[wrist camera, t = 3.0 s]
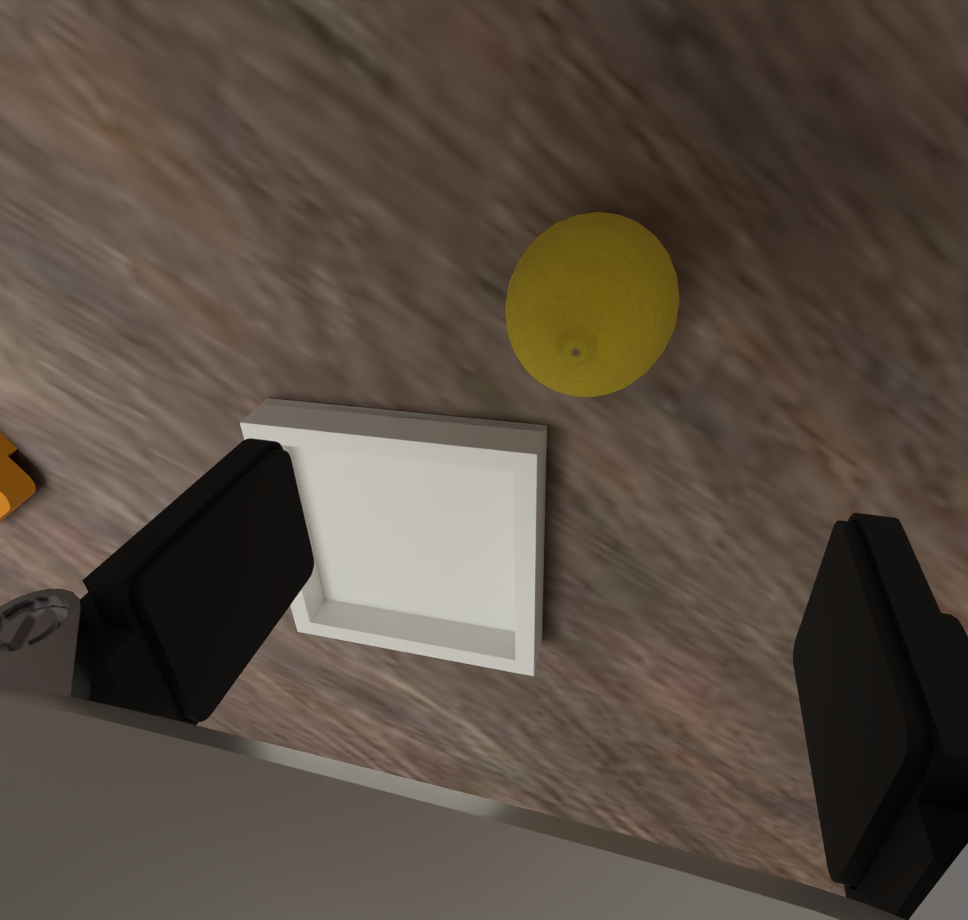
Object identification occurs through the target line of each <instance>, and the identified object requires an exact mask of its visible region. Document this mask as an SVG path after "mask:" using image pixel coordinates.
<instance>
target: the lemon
mask: <svg viewBox="0 0 968 920" xmlns="http://www.w3.org/2000/svg"><path fill="white" fill-rule="evenodd" d="M679 302H680V301H679V289H678V278H677V274H676V272H675V269H674V266H673V264H672V261H671V258H670V256H669V253H668V252H667V251H666V249H665V248H664V247H663V245H662V244H661V243H660V241H659V240H658V239H657V237H656V236H655V235H654V234H652V233H651V232H650V231H649V230H647V229H646V228H645V227H643V226H642V225H641V224H640V223H638V222H636V221H634V220H631V219H629V218H626V217H624V216H622V215H619V214H612V213H604V212H593V213H586V214H579V215H574V216H572V217H569V218H567V219H565V220H562V221H560V222H557V223H555V224H554V225H552V226H551V227H550V228H548V229H547V230H546V231H544V232H543V233H542V234H540V235H539V236H538V237H536V238H535V239H534V241H533V242H532V243H531V244H530V246H529V247H528V248H527V250H526V251H525V252H524V253H523V255H522V256H521V257H520V259H519V261H518V263H517V265H516V268H515V270H514V272H513V274H512V277H511V279H510V282H509V286H508V292H507V299H506V305H505V314H506V324H507V333H508V336H509V339H510V342H511V345H512V347H513V350H514V353H515V354H516V356H517V357H518V359H519V360H520V362H521V363H522V365H523V366H524V368H525V369H526V371H528V372H529V373H530V374H531V375H532V376H533V377H534V378H535V379H536V380H537V381H539V382H540V383H542V384H543V385H545V386H547V387H549V388H551V389H552V390H554V391H557V392H560V393H564V394H567V395H570V396H580V397H594V396H600V395H606V394H610V393H613V392H615V391H617V390H620V389H622V388H625V387H627V386H629V385H630V384H632V383H633V382H634V381H636V380H637V379H639V378H640V377H641V376H643V375H644V374H645V373H646V372H647V371H648V370H649V369H650V368H651V367H652V365H653V364H654V363H655V362H656V361H657V359H658V358H659V357H660V356H661V355H662V353H663V352H664V350H665V348H666V346H667V344H668V342H669V340H670V337H671V335H672V333H673V331H674V329H675V325H676V320H677V314H678V308H679Z"/></svg>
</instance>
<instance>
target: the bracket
mask: <svg viewBox="0 0 968 920" xmlns="http://www.w3.org/2000/svg"><path fill="white" fill-rule="evenodd" d="M17 449H18V448H17V447H16V446H14V445H13V444H12V443H11V442H10V441H9V440H8V439H7V438H6V437H5V436H4V435H3V434H2V433H1V432H0V522H1V521H3V520H4V519H5V518H6V517H7V516H8V515H10V514H11V513H12V512H13V511H14V510H15V509H17V508H18V507H19V506H20V505H21V504H22V503H23V502H25V501H26V500H27V499H28V498H29V497H30V496H32V495H33V494H34V493H35V491H36V486H35V484H34V482H33V480H32V479H31V477H30V476H29V475H28V474H27V473H25V472H24V471H23V470H22V469H21V468H20V467H19V466H18V465H17V464H16V463H15V462H14V461H12V460H11V459H10V458H9V457H10V456H11V455H12V454H13V453H14V452H15V451H16V450H17Z"/></svg>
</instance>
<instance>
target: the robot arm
mask: <svg viewBox="0 0 968 920" xmlns="http://www.w3.org/2000/svg"><path fill="white" fill-rule="evenodd" d="M313 569H314V556H313V552H312V547H311V543H310V539H309V534H308V530H307V526H306V521H305V517H304V513H303V508H302V504H301V500H300V495H299V491H298V487H297V482H296V478H295V474H294V469H293V465H292V461H291V457H290V454H289V453H288V452H287V451H285V450H283V447H282V446H281V444H280V443H278V442H276V441H269V440H261V439H253V438H249V439H245V440H244V441H242V442H241V443H240V444H239V445H238V446H237V447H235V448H234V449H233V450H232V451H231V452H230V453H228V454H227V455H226V456H225V457H224V458H223V459H222V460H220V461H219V462H218V463H217V464H216V465H215V466H214V467H212V468H211V469H210V470H209V471H208V472H207V473H205V474H204V475H203V476H202V477H201V478H200V479H199V480H197V481H196V482H195V483H194V484H193V485H192V486H191V487H189V488H188V489H187V490H186V491H185V492H184V493H182V494H181V495H180V496H179V497H178V498H177V499H176V500H174V501H173V502H172V503H171V504H170V505H169V506H168V507H166V508H165V509H164V510H163V511H162V512H161V513H159V514H158V515H157V516H156V517H155V518H154V519H153V520H151V521H150V522H149V523H148V524H147V525H146V526H145V527H143V528H142V529H141V530H140V531H139V532H138V533H136V534H135V535H134V536H133V537H132V538H131V539H130V540H128V541H127V542H126V543H125V544H124V545H123V546H122V547H120V548H119V549H118V550H117V551H116V552H115V553H113V554H112V555H111V556H110V557H109V558H108V559H107V560H105V561H104V562H103V563H102V564H101V565H100V566H99V567H97V568H96V569H95V570H94V571H93V572H92V573H90V574H89V575H88V576H87V577H86V578H85V579H84V580H83V582H84V584H85V586H86V588H87V590H88V593H87V594H86V595H85V596H84V597H83V598H81V599H79V598H78V597H77V596H76V595H75V594H74V593H73V592H71V591H68V590H64V589H46V590H41V591H35V592H32V593H29V594H26V595H23V596H20V597H18V598H15V599H14V600H12V601H10V602H8V603H6V604H4V605H2V606H0V920H968V636H967V634H966V632H965V630H964V628H963V626H962V625H961V623H960V622H959V620H958V619H957V618H955V617H954V616H952V615H950V614H943V613H941V612H940V609H939V607H938V605H937V603H936V600H935V598H934V596H933V594H932V592H931V589H930V587H929V585H928V583H927V580H926V578H925V576H924V574H923V571H922V569H921V567H920V565H919V562H918V560H917V558H916V556H915V553H914V551H913V549H912V547H911V544H910V542H909V540H908V538H907V536H906V533H905V531H904V529H903V527H902V524H901V523H900V521H899V520H898V519H897V518H893V517H885V516H877V515H868V514H860V513H854V514H852V515H851V517H850V518H849V520H848V521H840V520H839V521H837V522H836V523H835V525H834V527H833V530H832V533H831V536H830V539H829V542H828V545H827V548H826V551H825V554H824V557H823V560H822V563H821V565H820V568H819V571H818V574H817V577H816V580H815V583H814V586H813V589H812V592H811V595H810V598H809V601H808V604H807V607H806V610H805V613H804V616H803V619H802V622H801V625H800V628H799V631H798V634H797V637H796V640H795V644H794V650H793V664H794V671H795V677H796V682H797V688H798V694H799V700H800V706H801V712H802V718H803V724H804V730H805V736H806V742H807V748H808V754H809V760H810V766H811V772H812V778H813V784H814V790H815V796H816V802H817V807H818V813H819V819H820V825H821V831H822V837H823V843H824V849H825V855H826V861H827V867H828V871H829V874H830V877H831V879H832V880H833V882H837V883H841V884H844V887H845V893H846V897H843V896H840V895H837V894H834V893H831V892H828V891H824V890H821V889H818V888H815V887H812V886H809V885H806V884H803V883H800V882H796V881H793V880H790V879H786V878H782V877H779V876H775V875H772V874H768V873H764V872H761V871H757V870H753V869H750V868H746V867H743V866H739V865H735V864H732V863H728V862H725V861H721V860H717V859H714V858H710V857H706V856H703V855H699V854H696V853H692V852H688V851H685V850H681V849H678V848H674V847H670V846H667V845H663V844H659V843H655V842H651V841H648V840H644V839H640V838H636V837H632V836H628V835H624V834H621V833H617V832H613V831H609V830H605V829H601V828H597V827H594V826H590V825H586V824H582V823H578V822H574V821H570V820H567V819H563V818H559V817H555V816H551V815H547V814H544V813H540V812H536V811H532V810H528V809H524V808H520V807H517V806H513V805H509V804H505V803H501V802H497V801H493V800H490V799H486V798H482V797H478V796H474V795H470V794H466V793H462V792H458V791H454V790H450V789H446V788H443V787H439V786H435V785H431V784H427V783H423V782H419V781H415V780H411V779H407V778H403V777H399V776H395V775H391V774H388V773H384V772H380V771H376V770H372V769H368V768H364V767H360V766H356V765H352V764H348V763H344V762H340V761H336V760H332V759H328V758H324V757H320V756H316V755H312V754H308V753H305V752H301V751H297V750H293V749H289V748H285V747H280V746H276V745H272V744H268V743H264V742H260V741H256V740H252V739H248V738H244V737H240V736H236V735H232V734H228V733H224V732H220V731H216V730H212V729H208V728H204V727H200V726H196V725H197V723H198V722H202V721H204V720H206V719H207V718H208V717H209V716H210V715H211V714H212V713H213V711H214V710H215V709H216V707H217V706H218V704H219V703H220V702H221V700H222V699H223V697H224V696H225V695H226V693H227V692H228V691H229V689H230V688H231V686H232V685H233V684H234V682H235V681H236V679H237V678H238V677H239V675H240V674H241V673H242V671H243V670H244V668H245V667H246V666H247V664H248V663H249V661H250V660H251V659H252V657H253V656H254V655H255V653H256V652H257V650H258V649H259V648H260V646H261V645H262V644H263V642H264V641H265V639H266V638H267V637H268V635H269V634H270V632H271V631H272V630H273V628H274V627H275V626H276V624H277V623H278V621H279V620H280V619H281V617H282V616H283V614H284V613H285V612H286V610H287V609H288V608H289V606H290V605H291V603H292V602H293V601H294V599H295V598H296V596H297V595H298V594H299V592H300V591H301V590H302V588H303V587H304V585H305V584H306V583H307V581H308V580H309V578H310V577H311V575H312V572H313Z"/></svg>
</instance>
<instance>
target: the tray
mask: <svg viewBox="0 0 968 920" xmlns="http://www.w3.org/2000/svg"><path fill="white" fill-rule="evenodd" d="M240 425H241V429H242V432H243V436H244V440H245V439H249V438H253V439H261V440H269V441H276V442H278V443H280V444H281V446H282V447H283V450H285V451H287V452H288V453H289V454H290V457H291V461H292V465H293V469H294V474H295V478H296V482H297V487H298V491H299V495H300V500H301V504H302V508H303V513H304V517H305V521H306V526H307V530H308V534H309V539H310V543H311V547H312V552H313V556H314V569H313V572H312V575H311V577H310V578H309V580H308V581H307V583H306V584H305V585H304V587H303V588H302V590H301V591H300V592H299V594H298V595H297V596H296V598H295V599H294V601H293V602H292V603H291V605H290V606H291V609H292V613H293V616H294V620H295V624H296V627H297V631H298V632H303V633H308V634H313V635H319V636H324V637H329V638H334V639H340V640H345V641H350V642H356V643H361V644H366V645H371V646H377V647H382V648H387V649H393V650H398V651H403V652H408V653H414V654H419V655H424V656H430V657H435V658H440V659H446V660H451V661H456V662H461V663H467V664H472V665H477V666H483V667H488V668H493V669H498V670H504V671H509V672H514V673H520V674H525V675H530V676H534V673H535V669H536V664H537V660H538V656H539V651H540V647H541V643H542V619H543V578H544V537H545V495H546V454H547V425H539V424H529V423H519V422H508V421H498V420H488V419H477V418H467V417H457V416H446V415H436V414H426V413H415V412H405V411H395V410H384V409H374V408H364V407H353V406H343V405H333V404H322V403H312V402H302V401H291V400H281V399H271V398H268V399H267V400H265V401H264V402H263V403H262V404H261V405H260V406H258V407H257V408H256V409H255V410H254V411H253V412H251V413H250V414H249V415H248V416H247V417H246V418H244V419H243V420H242V421H241V422H240Z"/></svg>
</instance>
